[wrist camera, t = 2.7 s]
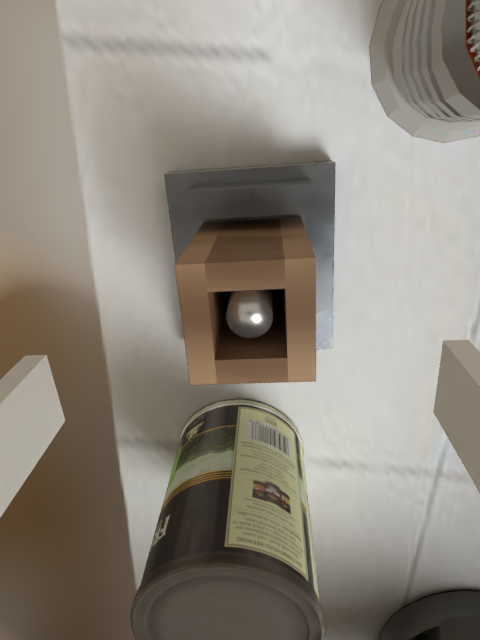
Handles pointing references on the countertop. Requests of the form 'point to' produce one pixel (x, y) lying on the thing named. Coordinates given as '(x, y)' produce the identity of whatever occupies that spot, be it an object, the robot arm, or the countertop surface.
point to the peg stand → (258, 204)
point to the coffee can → (233, 535)
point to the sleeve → (249, 274)
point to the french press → (429, 66)
